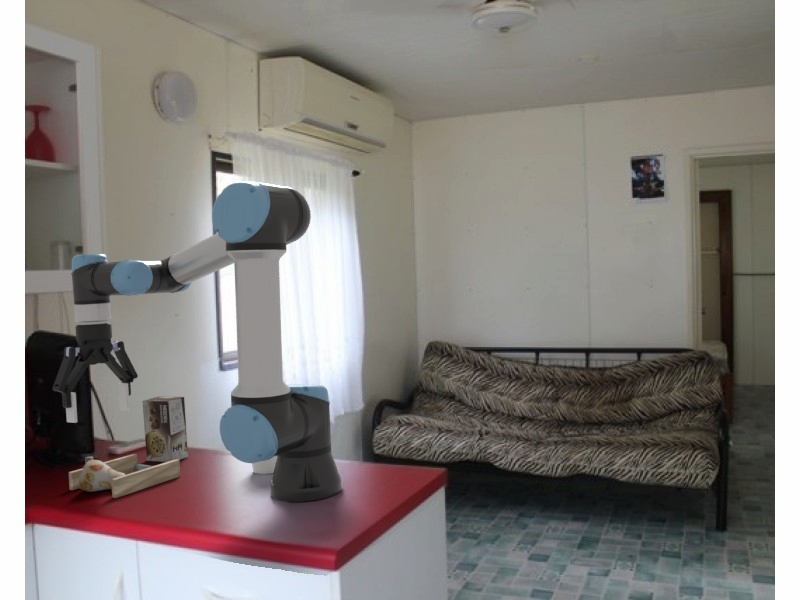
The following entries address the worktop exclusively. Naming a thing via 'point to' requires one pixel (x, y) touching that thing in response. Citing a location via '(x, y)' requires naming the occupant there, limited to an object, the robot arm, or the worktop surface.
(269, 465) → the cup
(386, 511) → the worktop surface
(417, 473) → the worktop surface
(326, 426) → the robot arm
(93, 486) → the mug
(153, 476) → the bay
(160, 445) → the cookie box
